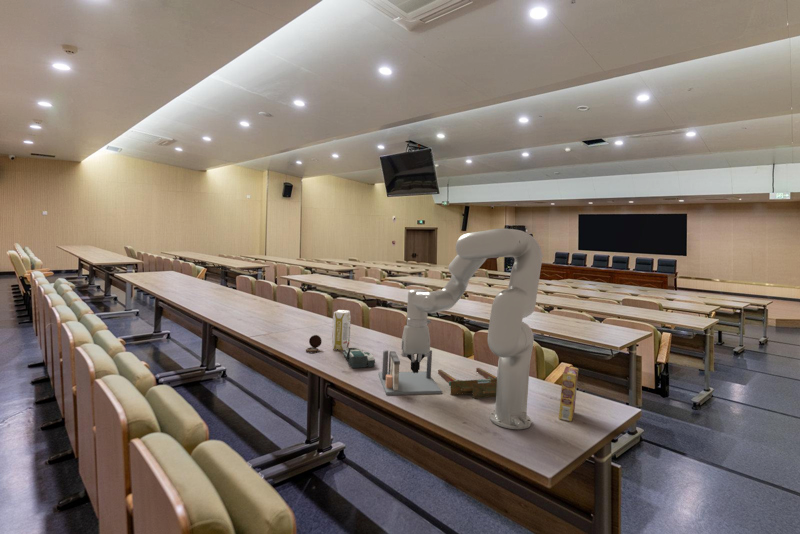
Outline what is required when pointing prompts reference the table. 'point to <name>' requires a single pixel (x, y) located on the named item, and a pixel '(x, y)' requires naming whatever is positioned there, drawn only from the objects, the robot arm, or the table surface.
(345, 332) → the juice carton
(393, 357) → the gate
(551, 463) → the table surface
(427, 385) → the gray panel stand
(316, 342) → the compass
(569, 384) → the candy box
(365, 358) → the communication device
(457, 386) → the miniature gate
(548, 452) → the table surface
